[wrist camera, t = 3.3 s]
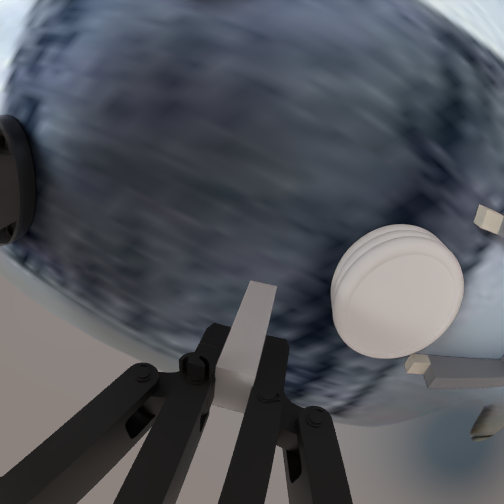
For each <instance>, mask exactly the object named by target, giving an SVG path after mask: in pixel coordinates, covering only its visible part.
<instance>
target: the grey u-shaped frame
mask: <svg viewBox="0 0 504 504" xmlns="http://www.w3.org/2000/svg"><path fill="white" fill-rule="evenodd" d="M473 223H475V224H476V225H478V226H479V227H480V228H482V229H485V230H487V231H490V232H492V233H495V234H497V235H499V236H500V237H501V238H503V239H504V215H503V214H500V213H498V212H496V211H494V210H492V209H490V208H487V207H485V206H483V205H480V204H479V207H478V210H477V213H476V216H475V219H474V222H473ZM404 365H405V369H406V372H407V373H411V374H423V375H424V378H425V381H426V385H427V388H485V387H500V386H504V355H503V357H502V358H501V359H479V358H461V357H446V356H434V355H423V354H414V353H413V354H410V356H409V358H408V359H407V361H406V362H405V364H404Z"/></svg>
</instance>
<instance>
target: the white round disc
mask: <svg viewBox="0 0 504 504" xmlns="http://www.w3.org/2000/svg"><path fill="white" fill-rule="evenodd" d="M463 293H464V279H463V274H462V270H461V267H460V265H459V263H458V261H457V259H456V257H455V256H454V255H453V253H452V252H451V251H450V250H449V249H448V248H447V247H446V246H445V245H444V244H443V243H442V242H441V241H440V240H439V239H438V238H437V237H436V236H435V235H434V234H432V233H431V232H429V231H427V230H425V229H423V228H421V227H417V226H413V225H406V224H395V225H388V226H384V227H381V228H378V229H375V230H373V231H371V232H369V233H367V234H366V235H364V236H363V237H361V238H360V239H358V240H357V241H356V242H355V243H354V244H353V245H352V246H351V247H350V248H349V249H348V250H347V251H346V253H345V254H344V255H343V257H342V258H341V260H340V262H339V263H338V266H337V268H336V270H335V272H334V275H333V279H332V283H331V301H332V314H333V321H334V324H335V327H336V330H337V332H338V334H339V335H340V337H341V338H342V340H343V341H344V342H345V343H346V344H347V345H348V346H349V347H350V348H352V349H353V350H355V351H356V352H358V353H360V354H363V355H366V356H369V357H374V358H382V359H387V358H398V357H403V356H407V355H410V354H413V353H415V352H417V351H420V350H422V349H423V348H425V347H427V346H428V345H430V344H431V343H433V342H434V341H435V340H436V339H438V338H439V337H440V336H441V335H442V334H443V333H444V332H445V331H446V329H447V328H448V327H449V326H450V324H451V323H452V321H453V320H454V318H455V317H456V315H457V313H458V311H459V308H460V306H461V303H462V299H463Z"/></svg>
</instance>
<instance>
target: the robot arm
mask: <svg viewBox="0 0 504 504" xmlns="http://www.w3.org/2000/svg"><path fill="white" fill-rule="evenodd" d="M35 198H36V186H35V173H34V165H33V160H32V155H31V151H30V147H29V144H28V141H27V138H26V135H25V133H24V131H23V129H22V127H21V126H20V124H19V123H18V122H17V121H16V120H15V119H14V118H13V117H11V116H9V115H0V246H3V245H8V244H10V243H12V242H14V241H16V240H17V239H19V238H21V237H22V236H24V235H25V234H26V233H27V231H28V230H29V228H30V226H31V223H32V220H33V216H34V210H35ZM276 289H277V286H274V285H269V284H265V283H260V282H256V281H251V280H250V283H249V285H248V288H247V290H246V293H245V295H244V298H243V300H242V303H241V305H240V308H239V310H238V313H237V315H236V318H235V320H234V323H233V325H232V327H228V326H224V325H220V324H216V323H214V324H212V325H211V326H210V327H208V328H207V329H206V331H205V333H204V335H203V337H202V339H201V341H200V343H199V345H198V347H197V349H196V351H195V352H191V353H187V354H185V355H183V356H182V357H181V358H180V359H179V370H180V371H179V372H175V373H166V372H158V370H157V369H156V368H155V367H154V366H153V365H151V364H148V363H137V364H134V365H133V366H131V367H130V368H129V369H127V370H126V371H125V372H124V373H123V374H122V375H120V377H118V378H117V379H116V380H115V381H114V382H112V383H111V384H110V385H109V386H108V387H107V388H105V389H104V390H103V391H102V392H101V393H100V394H99V395H97V396H96V397H95V398H94V399H93V400H92V401H90V402H89V403H88V404H87V405H86V406H85V407H83V408H82V409H81V410H80V411H79V412H78V413H77V414H75V415H74V416H73V417H72V418H71V419H70V420H68V421H67V422H66V423H65V424H64V425H63V426H62V427H60V428H59V429H58V430H57V431H56V432H54V433H53V434H52V435H51V436H50V437H49V438H47V439H46V440H45V441H44V442H43V443H42V444H40V445H39V446H38V447H37V448H36V449H34V450H33V451H32V452H31V453H30V454H29V455H28V456H26V457H25V458H24V459H23V460H22V461H20V462H19V463H18V464H17V465H16V466H14V467H13V468H12V469H11V470H10V471H9V472H7V473H6V474H5V475H4V476H2V477H0V504H77V503H78V502H79V501H80V500H81V499H82V498H83V497H84V496H85V495H86V494H87V493H88V492H89V491H90V490H91V489H92V488H93V487H94V486H95V485H96V484H97V483H98V482H99V481H100V480H101V479H102V478H103V477H104V476H105V475H106V474H107V473H108V472H109V471H110V470H111V469H112V468H113V467H114V466H115V465H116V464H117V463H118V462H119V461H120V459H122V458H123V457H124V456H125V455H126V453H127V452H128V451H129V450H130V449H131V448H132V447H133V446H134V445H135V444H136V443H137V442H138V441H139V440H140V439H141V438H142V437H143V436H144V434H145V433H146V432H147V431H148V430H149V429H150V428H151V427H152V428H151V430H150V432H149V434H148V436H147V437H146V440H145V442H144V443H143V446H142V447H141V449H140V451H139V453H138V455H137V457H136V459H135V461H134V463H133V465H132V468H131V469H130V471H129V473H128V475H127V477H126V479H125V481H124V483H123V485H122V487H121V489H120V491H119V493H118V495H117V497H116V499H115V501H114V503H113V504H175V503H176V500H177V498H178V495H179V493H180V490H181V488H182V485H183V483H184V480H185V477H186V475H187V472H188V469H189V467H190V464H191V461H192V459H193V456H194V454H195V451H196V448H197V446H198V443H199V440H200V438H201V435H202V432H203V430H204V427H205V425H206V422H207V419H208V416H209V410H210V407H211V404H212V405H215V406H218V407H222V408H226V409H229V410H233V411H238V412H241V413H244V417H243V421H242V424H241V428H240V431H239V435H238V438H237V442H236V445H235V449H234V452H233V456H232V459H231V462H230V466H229V469H228V472H227V476H226V479H225V483H224V485H223V489H222V492H221V495H220V498H219V501H218V504H264V502H265V497H266V493H267V488H268V484H269V478H270V474H271V469H272V463H273V459H274V453H275V447H276V445H277V446H279V447H281V448H283V457H284V464H285V472H286V481H287V489H288V497H289V504H353V503H352V498H351V494H350V489H349V485H348V482H347V477H346V473H345V469H344V464H343V460H342V457H341V452H340V448H339V444H338V440H337V436H336V432H335V429H334V425H333V421H332V418H331V416H330V414H329V412H327V411H326V410H325V409H323V408H321V407H319V406H309V407H306V408H302V407H300V406H298V405H295V404H294V403H292V402H291V401H290V400H289V399H288V398H287V397H286V395H285V393H284V383H285V376H286V369H287V362H288V355H289V345H288V343H287V340H286V339H282V338H277V337H273V336H268V335H266V332H267V328H268V324H269V320H270V315H271V311H272V307H273V302H274V298H275V294H276ZM212 401H213V402H212Z"/></svg>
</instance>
